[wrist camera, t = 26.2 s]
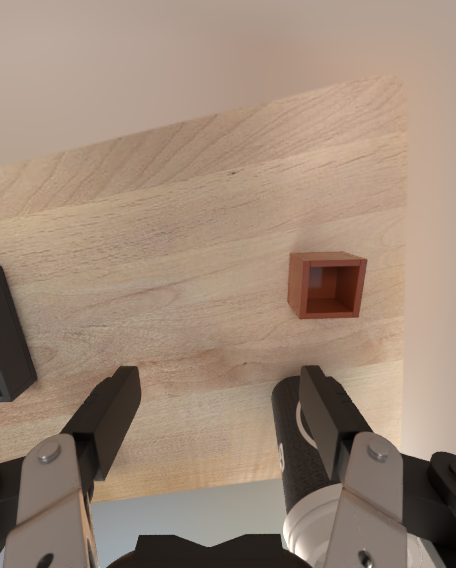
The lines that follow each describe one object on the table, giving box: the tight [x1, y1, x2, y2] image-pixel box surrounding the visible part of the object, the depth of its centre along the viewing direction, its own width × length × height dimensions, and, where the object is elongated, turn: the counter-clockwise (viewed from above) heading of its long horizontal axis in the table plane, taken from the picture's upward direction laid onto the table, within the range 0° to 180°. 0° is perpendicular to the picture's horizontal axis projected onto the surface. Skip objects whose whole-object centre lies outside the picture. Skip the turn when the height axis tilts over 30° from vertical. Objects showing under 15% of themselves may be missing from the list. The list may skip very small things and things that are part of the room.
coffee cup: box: [272, 376, 423, 568], centre depth 22 cm, size 10×10×15 cm
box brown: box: [288, 252, 367, 319], centre depth 23 cm, size 6×6×4 cm
